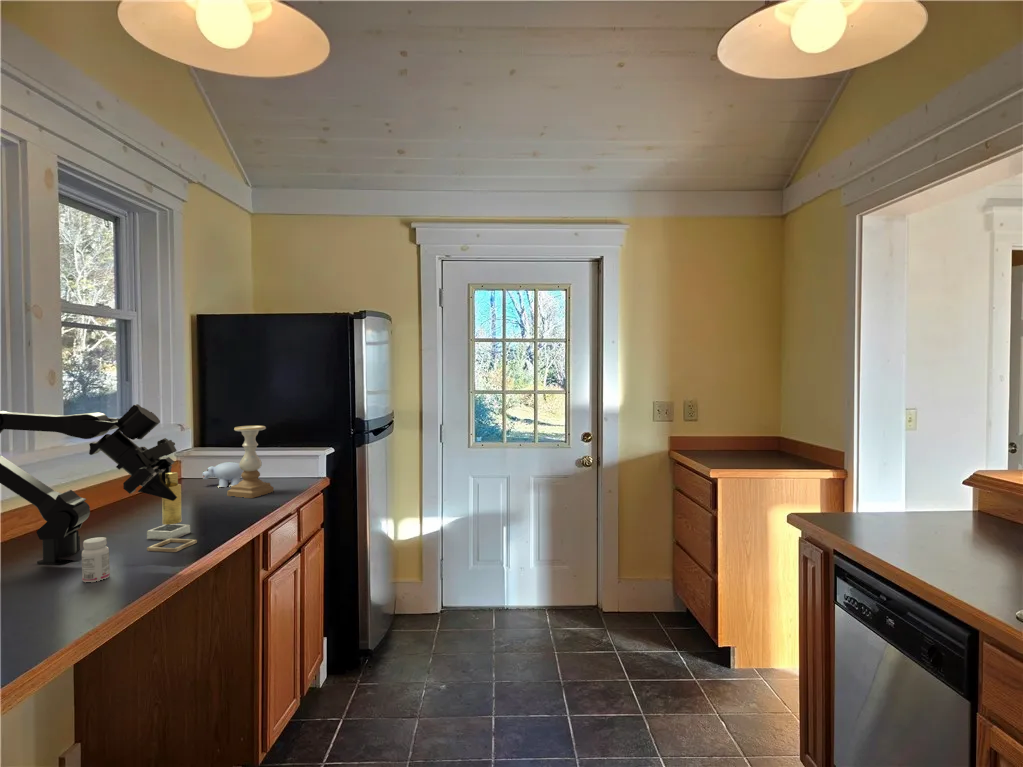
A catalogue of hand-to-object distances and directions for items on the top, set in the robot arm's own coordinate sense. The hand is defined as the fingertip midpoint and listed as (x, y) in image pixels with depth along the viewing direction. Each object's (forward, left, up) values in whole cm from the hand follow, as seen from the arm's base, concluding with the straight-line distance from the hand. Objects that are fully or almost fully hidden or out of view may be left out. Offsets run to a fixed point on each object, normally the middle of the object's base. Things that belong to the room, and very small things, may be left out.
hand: (178, 497), depth 140 cm
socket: (+7, +8, -13) cm, 17 cm away
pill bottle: (-19, +4, -14) cm, 24 cm away
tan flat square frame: (-1, +1, -13) cm, 13 cm away
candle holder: (+61, +20, -14) cm, 66 cm away
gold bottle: (-1, +1, -6) cm, 6 cm away
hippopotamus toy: (+74, +40, -14) cm, 85 cm away
